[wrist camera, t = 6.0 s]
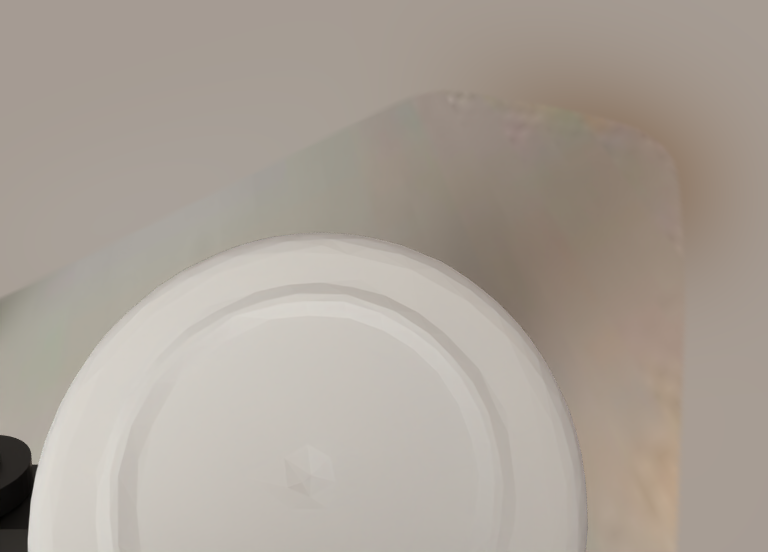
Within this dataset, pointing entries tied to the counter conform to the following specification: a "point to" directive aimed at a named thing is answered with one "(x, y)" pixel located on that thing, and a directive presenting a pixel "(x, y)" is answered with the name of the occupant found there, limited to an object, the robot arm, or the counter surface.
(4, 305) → the counter surface
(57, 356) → the counter surface
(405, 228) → the counter surface
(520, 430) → the spice jar
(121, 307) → the counter surface
